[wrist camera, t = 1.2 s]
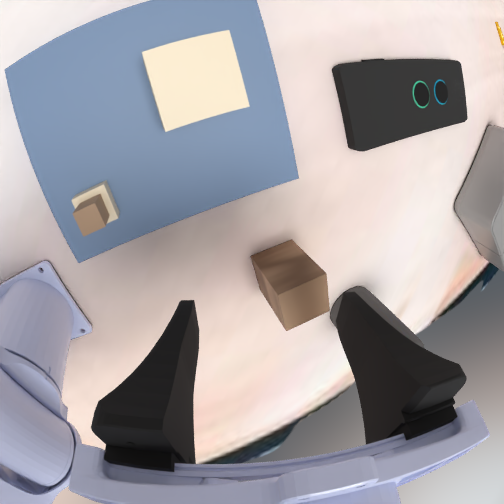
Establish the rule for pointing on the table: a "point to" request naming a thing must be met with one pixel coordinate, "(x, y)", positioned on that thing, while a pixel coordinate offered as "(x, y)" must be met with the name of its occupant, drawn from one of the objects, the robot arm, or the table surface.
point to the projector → (486, 198)
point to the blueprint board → (152, 118)
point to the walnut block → (291, 284)
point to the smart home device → (398, 99)
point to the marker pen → (500, 33)
